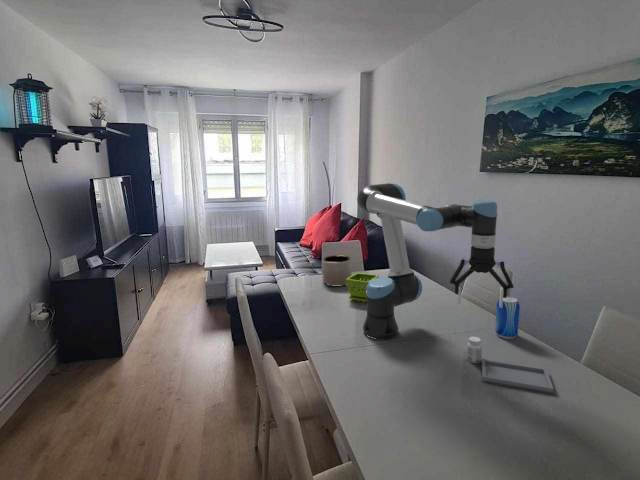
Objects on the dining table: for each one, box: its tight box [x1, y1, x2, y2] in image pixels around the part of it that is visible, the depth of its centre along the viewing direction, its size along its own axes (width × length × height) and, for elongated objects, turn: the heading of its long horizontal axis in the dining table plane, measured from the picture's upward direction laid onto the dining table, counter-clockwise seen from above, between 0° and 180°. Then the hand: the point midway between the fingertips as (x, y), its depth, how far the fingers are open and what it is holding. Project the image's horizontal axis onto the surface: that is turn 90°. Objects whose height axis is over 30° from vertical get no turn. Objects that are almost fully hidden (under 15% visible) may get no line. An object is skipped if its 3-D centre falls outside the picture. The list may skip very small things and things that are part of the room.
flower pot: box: [346, 272, 380, 303], centre depth 194 cm, size 14×14×13 cm
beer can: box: [494, 295, 521, 340], centre depth 147 cm, size 8×8×16 cm
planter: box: [322, 254, 353, 286], centre depth 223 cm, size 18×18×16 cm
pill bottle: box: [466, 336, 483, 364], centre depth 131 cm, size 5×5×8 cm
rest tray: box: [481, 358, 555, 395], centre depth 120 cm, size 20×12×2 cm, turn 68°
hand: (479, 304), depth 127 cm, fingers open, 13 cm apart
